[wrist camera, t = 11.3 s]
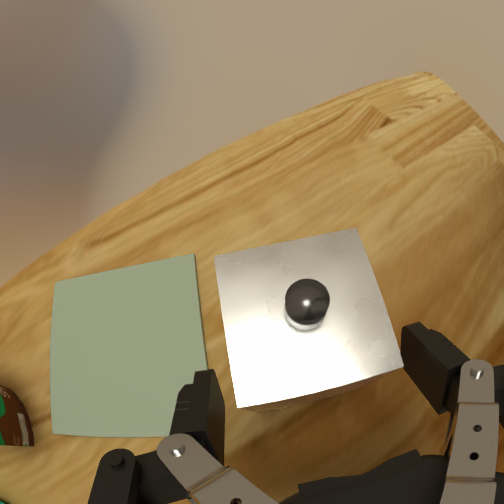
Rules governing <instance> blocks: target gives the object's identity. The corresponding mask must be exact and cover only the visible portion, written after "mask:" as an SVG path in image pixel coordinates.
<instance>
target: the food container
mask: <svg viewBox="0 0 504 504" xmlns="http://www.w3.org/2000/svg"><path fill="white" fill-rule="evenodd" d="M0 445H11V446H34V441H33V432H32V428H31V424H30V420H29V417H28V414H27V412H26V410H25V408H24V405H23V403H22V402H21V401H20V399H19V398H18V397H17V395H16V394H15V393H14V392H12V391H11V390H10V389H8V388H6V387H3V386H1V385H0Z"/></svg>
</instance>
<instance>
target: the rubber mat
mask: <svg viewBox="0 0 504 504" xmlns="http://www.w3.org/2000/svg"><path fill="white" fill-rule="evenodd" d="M202 370H208V364H207V357H206V350H205V342H204V334H203V326H202V317H201V309H200V300H199V291H198V281H197V271H196V261H195V255H194V254H189V255H184V256H179V257H174V258H169V259H164V260H159V261H154V262H149V263H144V264H139V265H134V266H129V267H125V268H120V269H115V270H110V271H105V272H100V273H96V274H91V275H86V276H81V277H77V278H72V279H67V280H62V281H58V282H55V289H54V298H53V309H52V322H51V341H50V398H51V416H52V429H53V434H63V435H76V436H94V437H160V436H169V433H170V429H171V424H172V419H173V415H174V411H175V405H176V403H177V402H176V401H177V396H178V393H179V391H180V390H181V389H182V388H183V386H184V385H185V384H193V380H194V374H195V371H202Z"/></svg>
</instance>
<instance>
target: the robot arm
mask: <svg viewBox="0 0 504 504" xmlns="http://www.w3.org/2000/svg"><path fill="white" fill-rule="evenodd" d="M401 358H402V361H403V365H404V366H403V369H404V370H405V371H406V373H407V374H408V375H409V376H410V378H411V379H412V380H413V382H414V383H415V384H416V386H417V387H418V388H419V390H420V391H421V392H422V393H423V395H424V396H425V397H426V399H427V400H428V401H429V403H430V404H431V405H432V407H433V408H434V409H435V411H436V412H437V413H438V415H440V414H442V413H444V412H447V411H449V412H450V417H449V421H448V427H447V432H446V437H445V442H444V446H443V451H442V455H423V456H420V454H419V453H418V451H417V449H415V450H412V451H410V452H407V453H405V454H402V455H400V456H397V457H394V458H391V459H389V460H387V461H386V462H384V463H382V464H381V465H379V466H377V467H376V468H374V469H372V470H370V471H369V472H367V473H365V474H363V475H357V476H345V477H330V478H325V479H321V480H316V481H312V482H307V483H302V484H298V488H299V492H298V493H296V494H294V495H292V496H290V497H288V498H286V499H284V500H283V501H281V502H280V503H277V502H276V501H274V500H273V499H272V498H270V497H269V496H268V495H266V494H265V493H264V492H262V491H261V490H260V489H258V488H257V487H256V486H255V485H253V484H252V483H251V482H250V481H248V480H247V479H246V478H245V477H243V476H242V475H241V474H240V473H238V472H237V471H236V470H235V469H234V468H232V467H230V466H227V467H226V468H225V467H224V435H225V405H224V399H223V396H222V393H221V390H220V386H219V383H218V380H217V377H216V374H215V371H214V369H209V370H202V371H195V374H194V380H193V384H185V385H184V386H183V388H182V389H181V390H180V391H179V393H178V396H177V401H176V402H177V403H176V405H175V411H174V415H173V419H172V424H171V429H170V433H169V436H168V437H166V438H164V439H163V440H162V441H161V442H160V443H159V445H158V447H157V450H155V451H153V452H150V453H146V454H142V455H138V456H134V454H133V453H132V452H131V451H129V450H127V449H114V450H111V451H109V452H108V453H106V454H105V455H104V456H103V457H102V458H101V460H100V463H99V466H98V469H97V473H96V476H95V480H94V483H93V486H92V490H91V493H90V497H89V501H88V504H168V503H172V502H175V501H179V500H183V499H186V498H187V500H188V501H189V502H190V503H191V504H504V473H500V472H497V471H495V469H496V460H497V448H498V429H499V422H500V424H501V425H502V426H503V428H504V365H499V366H494V367H492V365H491V364H490V363H488V362H487V361H484V360H480V359H474V360H470V359H469V358H468V357H467V356H466V355H465V354H464V353H463V352H462V351H460V350H459V349H458V348H457V347H456V346H455V345H453V343H452V342H450V341H449V340H448V339H447V338H446V337H445V336H444V335H443V334H442V333H440V332H437V331H435V330H432V329H430V330H428V329H427V328H426V327H425V326H424V325H423V324H421V323H420V322H416V323H413V324H410V325H407V326H404V327H403V328H402V332H401Z"/></svg>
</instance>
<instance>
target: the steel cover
mask: <svg viewBox="0 0 504 504" xmlns="http://www.w3.org/2000/svg"><path fill="white" fill-rule="evenodd" d="M214 260H215V267H216V275H217V282H218V289H219V296H220V303H221V309H222V316H223V323H224V329H225V336H226V342H227V348H228V355H229V361H230V367H231V373H232V379H233V385H234V390H235V396H236V402H237V408H240V409H244V410H249V411H253V412H257V413H260V412H266V411H271V410H276V409H281V408H286V407H291V406H296V405H300V404H305V403H309V402H313V401H317V400H321V399H325V398H329V397H333V396H337V395H341V394H344V393H348V392H351V391H353V390H356V389H358V388H360V387H362V386H364V385H367V384H369V383H371V382H373V381H375V380H377V379H379V378H381V377H384V376H386V375H388V374H390V373H392V372H394V371H396V370H398V369H400V368H401V367H403V366H404V365H403V361H402V358H401V354H400V351H399V347H398V344H397V341H396V337H395V334H394V331H393V328H392V325H391V322H390V319H389V315H388V312H387V309H386V306H385V303H384V301H383V298H382V295H381V292H380V289H379V286H378V283H377V281H376V278H375V275H374V272H373V270H372V267H371V264H370V262H369V259H368V256H367V254H366V251H365V249H364V246H363V244H362V241H361V239H360V236H359V234H358V231H357V229H356V228H352V229H347V230H342V231H337V232H332V233H327V234H322V235H317V236H312V237H307V238H302V239H297V240H292V241H287V242H282V243H277V244H272V245H267V246H262V247H257V248H252V249H247V250H242V251H237V252H232V253H227V254H222V255H217V256H214Z"/></svg>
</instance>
